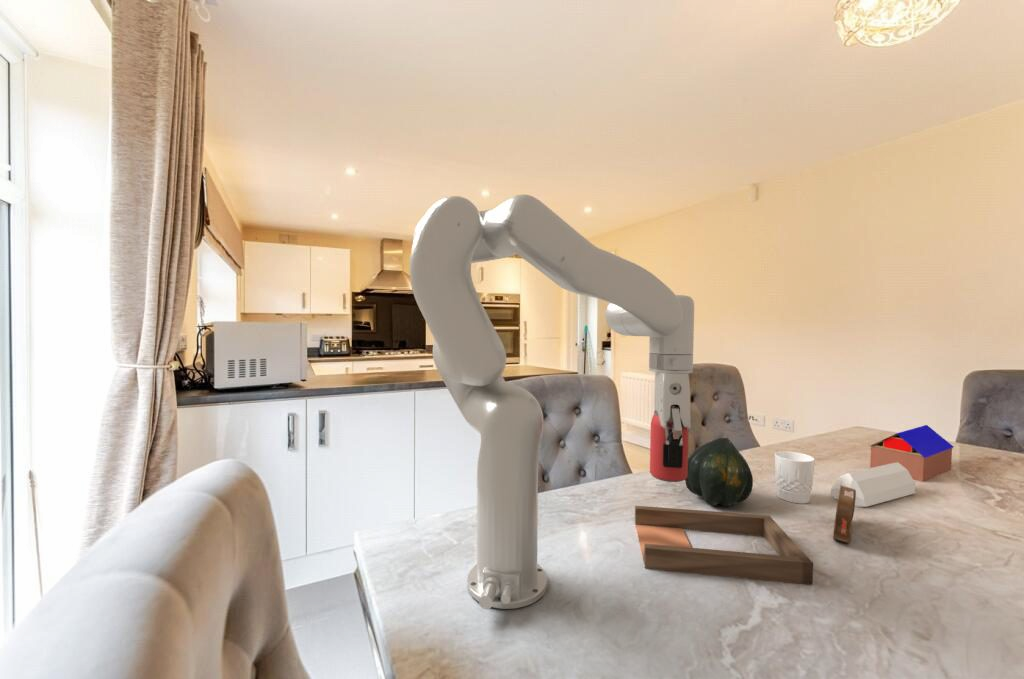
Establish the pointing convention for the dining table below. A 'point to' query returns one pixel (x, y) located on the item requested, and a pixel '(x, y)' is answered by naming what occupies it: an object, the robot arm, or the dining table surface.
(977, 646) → the dining table surface
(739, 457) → the squash
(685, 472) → the beer can
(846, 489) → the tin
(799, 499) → the white cup
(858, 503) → the crystal
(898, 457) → the house
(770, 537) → the frame
